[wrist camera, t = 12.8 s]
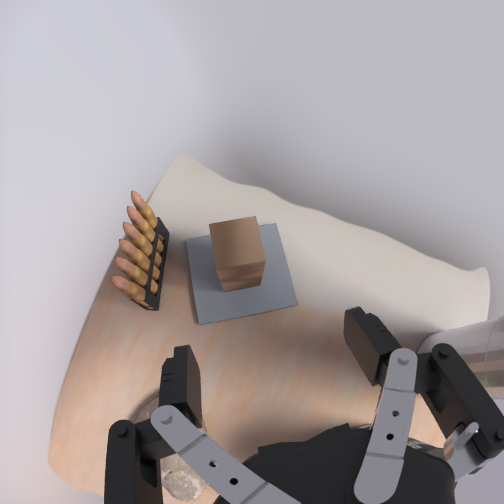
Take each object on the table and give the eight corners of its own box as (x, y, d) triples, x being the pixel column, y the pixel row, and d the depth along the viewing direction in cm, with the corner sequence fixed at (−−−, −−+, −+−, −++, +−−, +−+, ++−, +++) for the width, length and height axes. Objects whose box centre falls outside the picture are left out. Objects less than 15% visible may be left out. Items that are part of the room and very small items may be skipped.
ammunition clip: (156, 232, 37) (126, 183, 26) (169, 232, 37) (142, 183, 26) (145, 309, 34) (102, 286, 22) (158, 310, 34) (119, 288, 22)
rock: (215, 388, 31) (143, 377, 33) (205, 387, 28) (126, 375, 29) (209, 495, 25) (138, 478, 26) (200, 506, 21) (122, 485, 22)
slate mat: (275, 225, 38) (276, 223, 37) (296, 305, 34) (297, 304, 34) (187, 242, 37) (185, 239, 36) (199, 324, 33) (198, 324, 32)
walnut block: (253, 251, 36) (255, 216, 27) (260, 285, 34) (266, 260, 25) (217, 257, 35) (208, 224, 27) (223, 292, 34) (216, 269, 25)
